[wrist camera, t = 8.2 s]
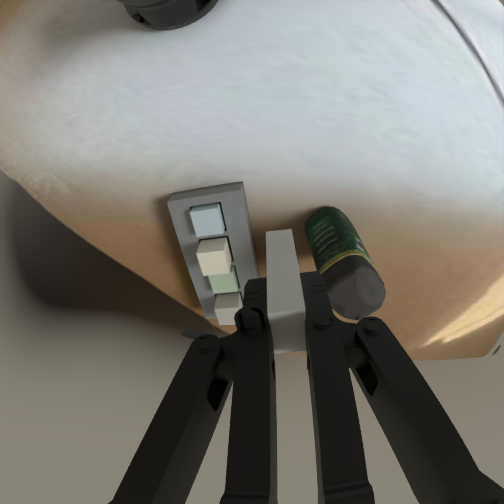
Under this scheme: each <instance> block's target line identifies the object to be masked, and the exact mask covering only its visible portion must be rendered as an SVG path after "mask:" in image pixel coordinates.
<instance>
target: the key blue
mask: <svg viewBox="0 0 504 504" xmlns="http://www.w3.org/2000/svg"><path fill="white" fill-rule="evenodd" d="M190 215H191V219H192V223H193V226H194V230H195V233H196V237H201V236H208V235H216V234H223V233H224V229H225V225H226V223H225V219H224V214H223V210H222V205H221V202H215V203H208V204H202V205H196V206H193V207H192V209H191V211H190Z"/></svg>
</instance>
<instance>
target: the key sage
mask: <svg viewBox="0 0 504 504" xmlns="http://www.w3.org/2000/svg"><path fill="white" fill-rule="evenodd" d="M208 277H209V280H210V283H211V287H212V290H213V293H214V294H217V293H228V292H237V290H238V281H239V280H238V275H237V271H236V267H235V265H233V266H230V273H227V274H218V275H208Z"/></svg>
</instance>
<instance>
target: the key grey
mask: <svg viewBox="0 0 504 504" xmlns="http://www.w3.org/2000/svg"><path fill="white" fill-rule="evenodd" d="M242 307H243V304H242V300H241V296H240V292H238V293H227V294H217V296H216V302H215V307H214V310H215V313H216V316H217V319H218V322H219V325H232V324H235V320H234V316H235V313H236V312H237V311H238V310H239V309H241V308H242Z"/></svg>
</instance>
